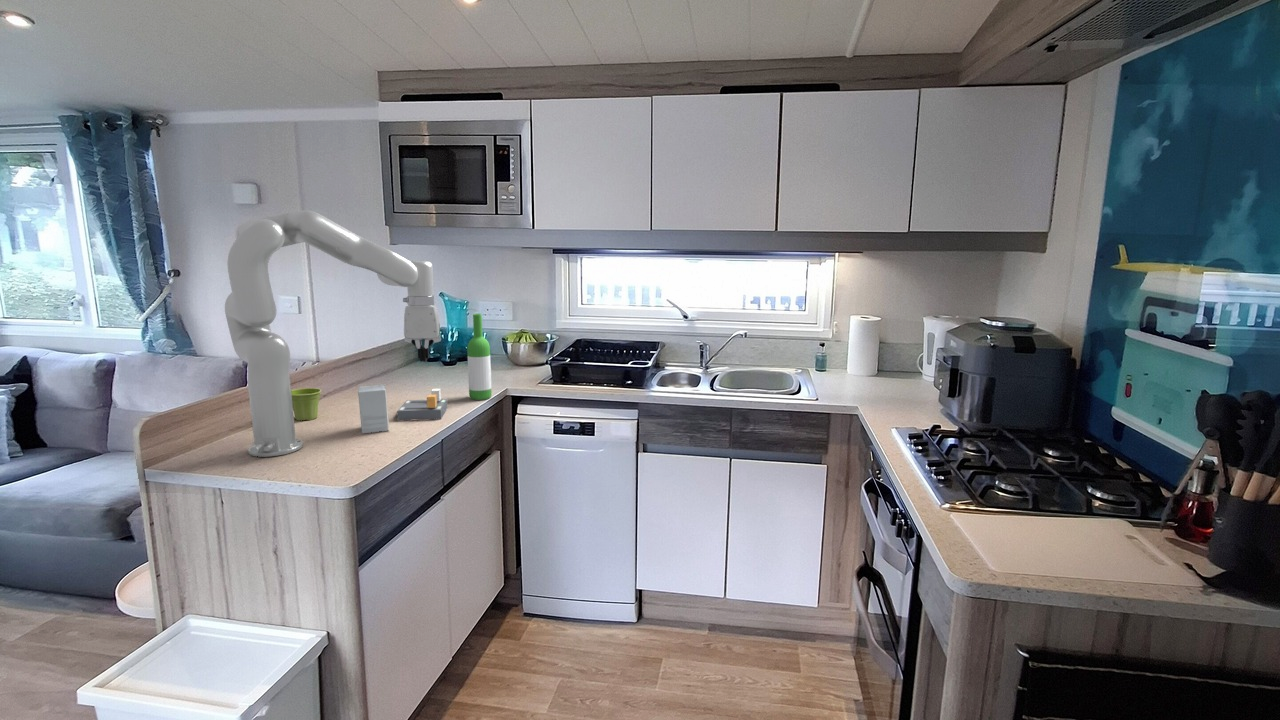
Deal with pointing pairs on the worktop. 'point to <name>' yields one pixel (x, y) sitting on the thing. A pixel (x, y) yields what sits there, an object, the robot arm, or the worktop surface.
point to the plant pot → (305, 403)
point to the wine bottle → (479, 363)
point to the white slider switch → (437, 393)
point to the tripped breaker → (431, 401)
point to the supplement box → (373, 408)
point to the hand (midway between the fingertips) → (423, 360)
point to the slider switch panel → (421, 410)
